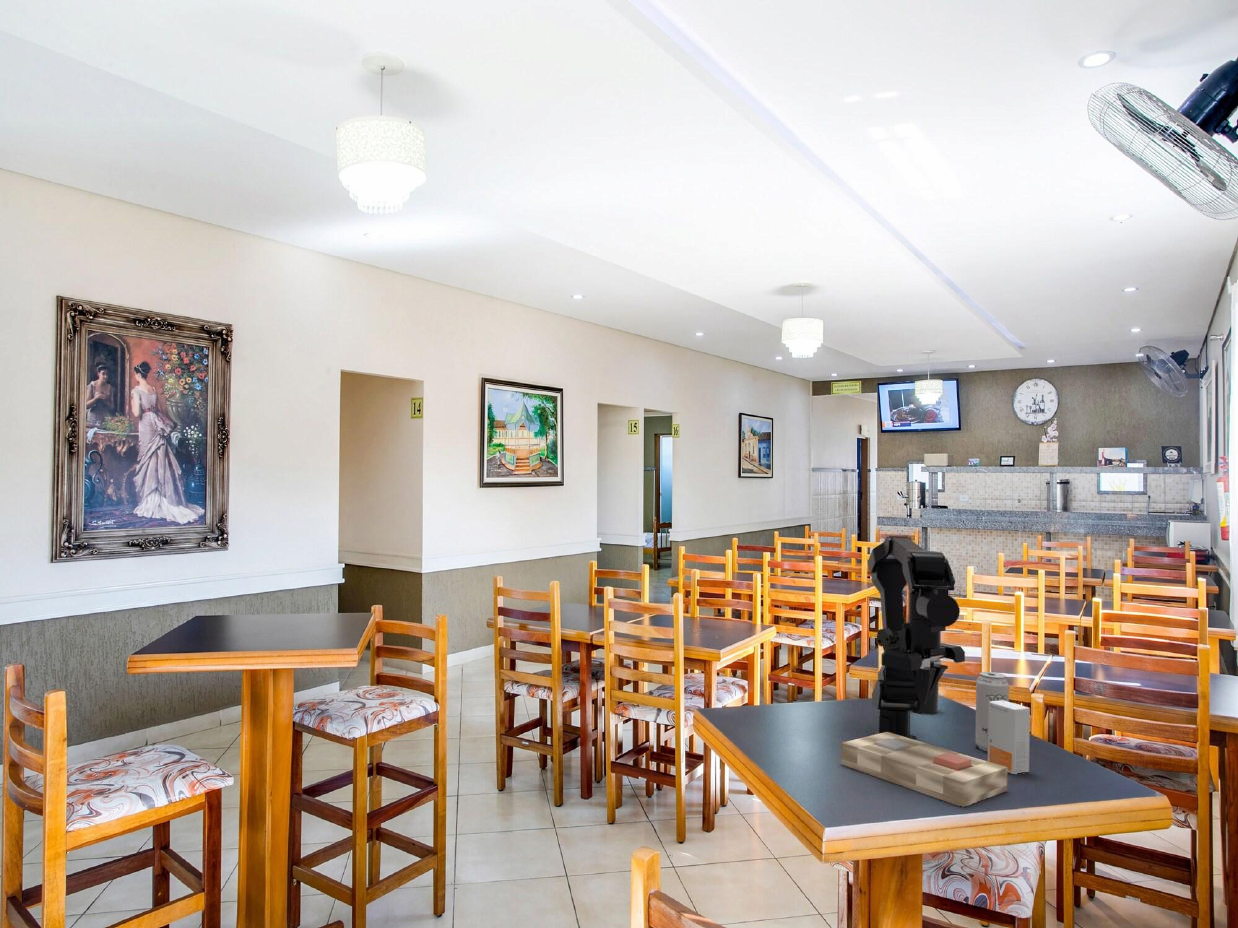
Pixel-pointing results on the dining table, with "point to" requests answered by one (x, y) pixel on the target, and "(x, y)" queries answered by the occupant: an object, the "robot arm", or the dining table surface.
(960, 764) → the button red
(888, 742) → the button grey
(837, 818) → the dining table surface
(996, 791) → the console
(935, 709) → the supplement bottle
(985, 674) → the energy drink can
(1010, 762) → the skincare box
